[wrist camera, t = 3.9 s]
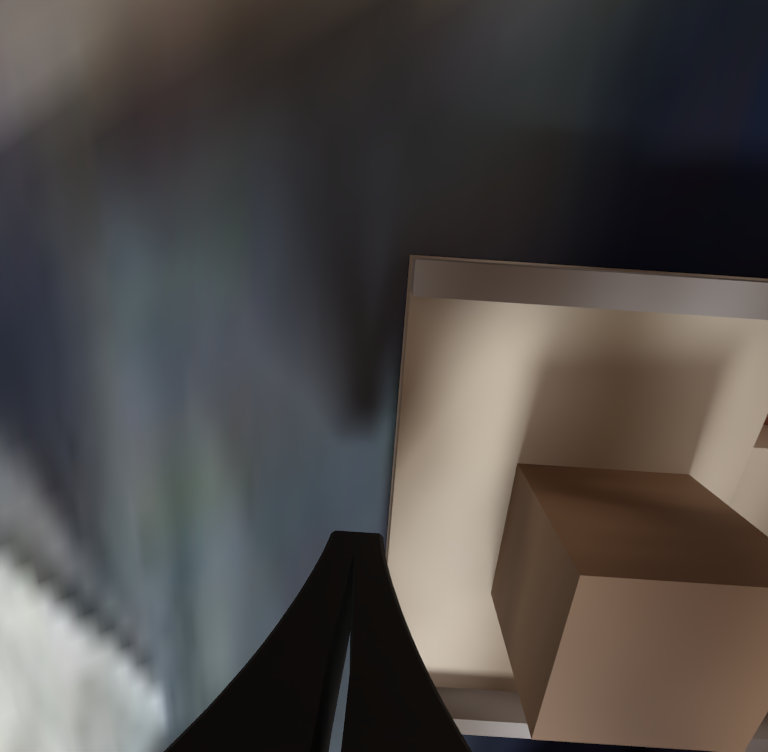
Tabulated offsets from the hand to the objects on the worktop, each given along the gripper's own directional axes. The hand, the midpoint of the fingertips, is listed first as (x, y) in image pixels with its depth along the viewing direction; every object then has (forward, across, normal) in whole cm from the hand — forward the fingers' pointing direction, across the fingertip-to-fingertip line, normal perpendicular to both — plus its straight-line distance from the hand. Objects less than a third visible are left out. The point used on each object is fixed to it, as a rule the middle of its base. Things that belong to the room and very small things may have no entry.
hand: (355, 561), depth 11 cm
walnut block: (+2, -7, 0) cm, 7 cm away
